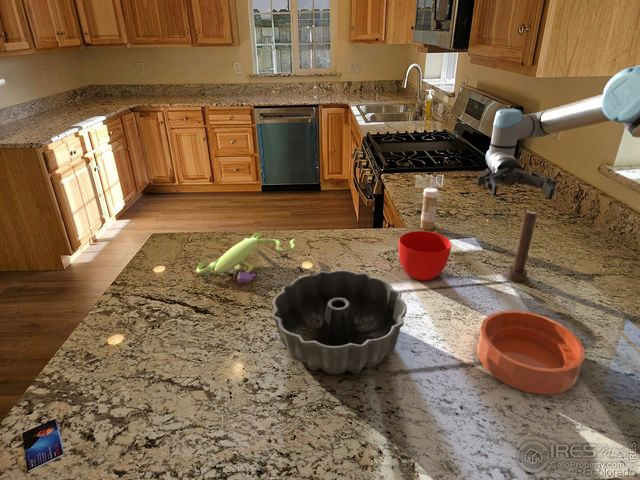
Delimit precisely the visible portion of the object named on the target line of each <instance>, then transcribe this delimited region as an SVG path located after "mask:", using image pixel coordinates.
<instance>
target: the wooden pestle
mask: <svg viewBox="0 0 640 480" xmlns="http://www.w3.org/2000/svg"><path fill="white" fill-rule="evenodd" d="M537 218H538V211H536V210H532V209H526V210H525V212H524V216H523V221H522V224H521V225H522V226H521V230H520V234H519V240H518V243H517V247H516V253H515V257H514V261H513V265H511V266H509V267H508V272H507V279H508V280H510V281H512V282H515V283H524V282H526V281H527V276H528V270H527V269H526V268H525V267H526V263H527V259H528V255H529V250H530V247H531V242H532V238H533V235H534V230H535V225H536V221H537Z"/></svg>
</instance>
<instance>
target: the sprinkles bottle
mask: <svg viewBox="0 0 640 480" xmlns="http://www.w3.org/2000/svg"><path fill="white" fill-rule="evenodd" d="M438 197H439V189H438V188H434V187H425V188H424V189H423V201H422V209H421V215H420V216H421V217H420V218H421V219H420V225H419V227H420V228H421V229H423V230H429V231H430V230H433V229H435V221H436V215H437V207H438Z"/></svg>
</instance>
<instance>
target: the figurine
mask: <svg viewBox="0 0 640 480" xmlns="http://www.w3.org/2000/svg"><path fill="white" fill-rule="evenodd" d="M262 235H263V234H262V232H255V233H254V234H252V236H251V237H245V238H244V239H243V240H242V241H240V242H238V243H237V244H235V245H233V246H232V247H231V248H229V249H228V250H227V251H226V252H225V253H224V254H223V255H221V256H220V257H218V258H217V259H216V260H215V261H213V262H211V263H210V264H209V265H208V266H206V267H204V266H205V264H206V263H207V259H206V258H202V260H201V261H200V262H199V264H198V265H197V267H196V269H195V273H196V274H197V275H198V276H199V275H204V274H206V273H208V272H209V271H211V270H212V269H213V268H214V269H213V272H215V273H217V274H222V273H225V272H228V274H232V275H233V273H234V272H235V267H237V266H239V264H241V265H242V266H244V267H246V268H247V267H248V268H247V270H246V271H245V269H240V270H239V272H238V274H237V276H236V277H237V284H246V283H247V284H248V283H250V282H252V281H253V280H255V278H256V273H254V271H253V269H254V266H253V264H251V263H249V262H247V261H245V260H246V259H247V258H248V257H249V256H250V255H251V254H252V253H253V252H254V250H255V249H256V247H257V245H258V244H274V245H276V247H275V248H276V251H277V252H278V253H279V254H285V253H288V252H292V251H294V250H295V249H296V245H295V243H297V240H296V238H293V239H291V240H290V241H289V245H290V247H291V248H290V247H289V248H281V241H280V240H278V239H276V238H275V239H274V238H261V237H262Z"/></svg>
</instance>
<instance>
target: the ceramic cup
mask: <svg viewBox="0 0 640 480" xmlns="http://www.w3.org/2000/svg"><path fill="white" fill-rule="evenodd" d="M451 250H452V243H451V240H450V239H448V238H447V237H446V236H444V235H442V234H439V233H437V232H434V231H433V232H432V231H426V230H416V231H409V232H406V233H403V234H401V235H400V237H399V240H398V256H399V257H398V258H399V263H400V265H401V267H402V269H403V271H404V272H405V274H406V275H407V276H408V277H410V278H411V279H413V280H416V281H423V282H424V281H425V282H426V281H432V280H434V279H435V278H437V277H438V276H439V275H440V274H441V273H442V272H443V271H444V270H445V268H446V266H447V263H448V260H449V258H450V254H451Z"/></svg>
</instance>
